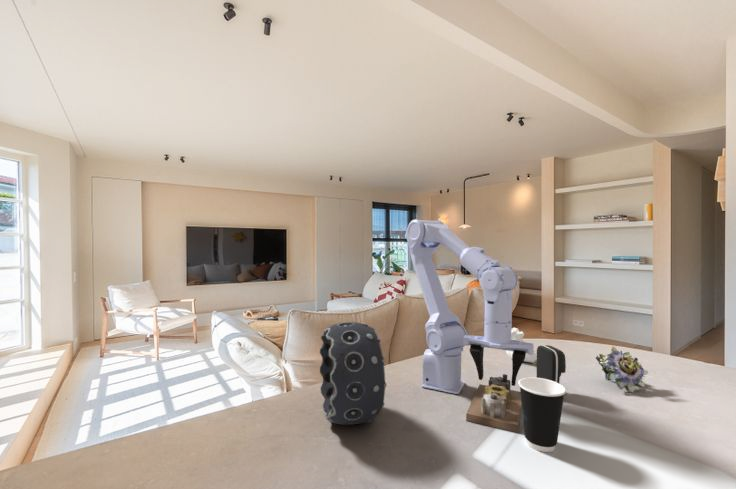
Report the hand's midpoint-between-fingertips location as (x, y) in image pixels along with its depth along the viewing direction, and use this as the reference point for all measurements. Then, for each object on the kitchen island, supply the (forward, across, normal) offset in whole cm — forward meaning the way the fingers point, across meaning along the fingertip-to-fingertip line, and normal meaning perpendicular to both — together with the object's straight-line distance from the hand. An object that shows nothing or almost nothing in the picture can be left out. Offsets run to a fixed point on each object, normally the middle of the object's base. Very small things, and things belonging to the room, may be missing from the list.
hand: (496, 381), depth 79 cm
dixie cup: (+6, +9, -11) cm, 15 cm away
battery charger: (+6, +11, +15) cm, 20 cm away
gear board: (+6, 0, 0) cm, 6 cm away
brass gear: (+5, 0, 0) cm, 5 cm away
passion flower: (+6, +27, +29) cm, 40 cm away
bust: (+6, +2, +38) cm, 39 cm away
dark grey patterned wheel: (+6, -27, -19) cm, 34 cm away
